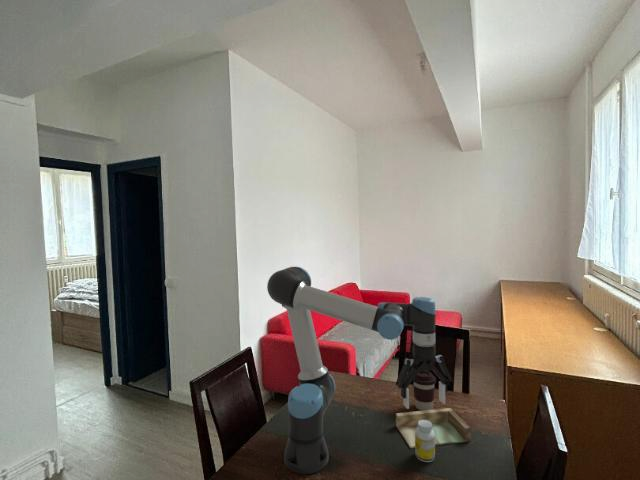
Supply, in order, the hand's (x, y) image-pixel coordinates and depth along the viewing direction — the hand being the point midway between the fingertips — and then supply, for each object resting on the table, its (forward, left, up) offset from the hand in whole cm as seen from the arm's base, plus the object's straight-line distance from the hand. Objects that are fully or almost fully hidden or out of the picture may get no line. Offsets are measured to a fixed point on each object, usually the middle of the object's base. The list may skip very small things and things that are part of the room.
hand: (424, 404), depth 118 cm
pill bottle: (-1, -2, -17) cm, 18 cm away
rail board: (+7, +10, -17) cm, 21 cm away
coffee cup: (+13, +28, -17) cm, 36 cm away
